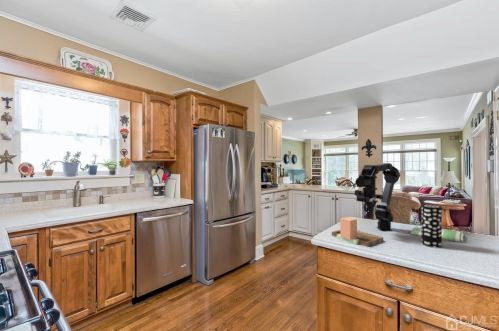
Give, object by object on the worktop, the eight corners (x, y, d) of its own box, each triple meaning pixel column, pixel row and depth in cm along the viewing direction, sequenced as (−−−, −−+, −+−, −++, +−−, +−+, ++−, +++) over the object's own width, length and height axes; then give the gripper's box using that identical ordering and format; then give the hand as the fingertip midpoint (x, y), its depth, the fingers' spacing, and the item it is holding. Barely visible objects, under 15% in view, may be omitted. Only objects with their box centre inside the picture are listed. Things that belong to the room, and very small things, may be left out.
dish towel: (414, 228, 152) (414, 224, 152) (463, 236, 137) (463, 231, 137) (410, 235, 139) (410, 230, 139) (463, 244, 123) (463, 239, 123)
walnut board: (347, 231, 147) (347, 227, 147) (383, 241, 128) (383, 237, 128) (331, 235, 139) (331, 232, 139) (367, 246, 120) (367, 242, 120)
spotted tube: (437, 242, 125) (437, 205, 124) (444, 248, 117) (445, 208, 116) (418, 241, 127) (419, 204, 127) (424, 246, 119) (425, 207, 119)
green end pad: (340, 237, 135) (340, 233, 135) (359, 243, 125) (359, 239, 125) (336, 238, 133) (336, 234, 133) (356, 244, 123) (356, 240, 123)
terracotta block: (347, 234, 134) (347, 217, 133) (356, 237, 129) (356, 219, 128) (340, 236, 130) (340, 218, 130) (350, 239, 125) (350, 220, 125)
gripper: (366, 184, 152) (366, 208, 152) (348, 185, 142) (348, 211, 142) (383, 185, 142) (383, 211, 143) (366, 187, 132) (365, 215, 133)
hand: (370, 212), depth 140 cm, fingers closed
